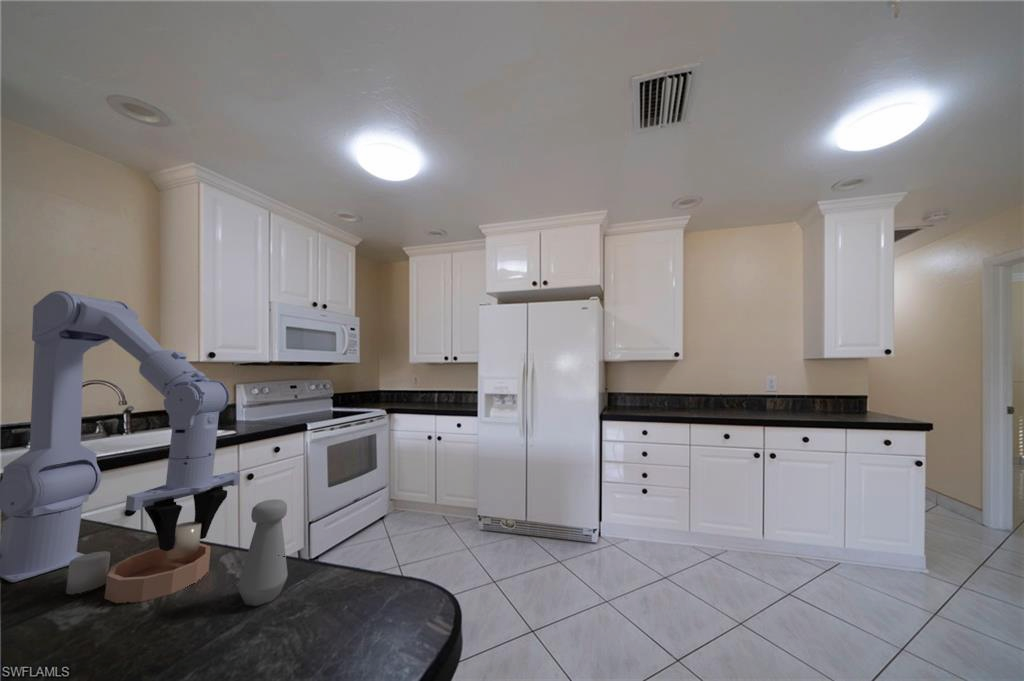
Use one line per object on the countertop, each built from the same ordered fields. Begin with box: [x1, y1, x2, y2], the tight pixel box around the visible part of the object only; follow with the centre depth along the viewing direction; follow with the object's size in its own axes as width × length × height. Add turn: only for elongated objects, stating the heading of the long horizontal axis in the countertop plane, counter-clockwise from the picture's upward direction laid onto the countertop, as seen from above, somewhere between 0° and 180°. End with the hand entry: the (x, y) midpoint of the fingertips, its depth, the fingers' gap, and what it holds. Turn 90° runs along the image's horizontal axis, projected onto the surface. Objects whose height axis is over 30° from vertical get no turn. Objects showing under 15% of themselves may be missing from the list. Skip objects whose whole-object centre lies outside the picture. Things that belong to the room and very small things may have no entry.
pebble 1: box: [65, 550, 111, 595], centre depth 54 cm, size 4×4×4 cm
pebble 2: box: [165, 521, 202, 559], centre depth 59 cm, size 4×4×4 cm
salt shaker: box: [238, 498, 288, 607], centre depth 53 cm, size 6×6×13 cm
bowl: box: [104, 542, 211, 604], centre depth 56 cm, size 11×11×3 cm
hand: (183, 543), depth 59 cm, fingers closed on pebble 2, 4 cm apart
